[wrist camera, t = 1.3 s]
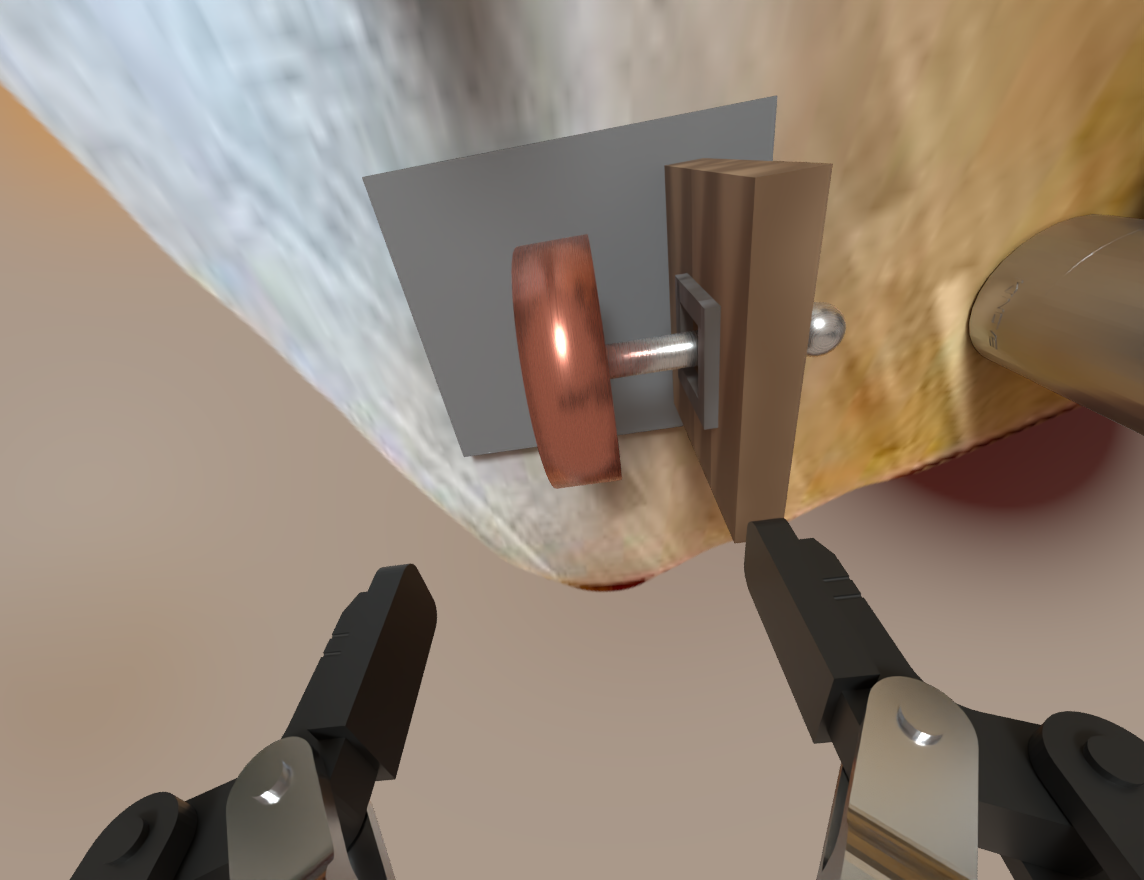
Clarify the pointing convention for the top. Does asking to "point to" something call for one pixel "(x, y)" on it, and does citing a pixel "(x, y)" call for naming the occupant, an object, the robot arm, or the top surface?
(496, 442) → the base board
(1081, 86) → the top surface
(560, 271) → the copper disc with rod
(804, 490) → the top surface
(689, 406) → the brown wooden panel
